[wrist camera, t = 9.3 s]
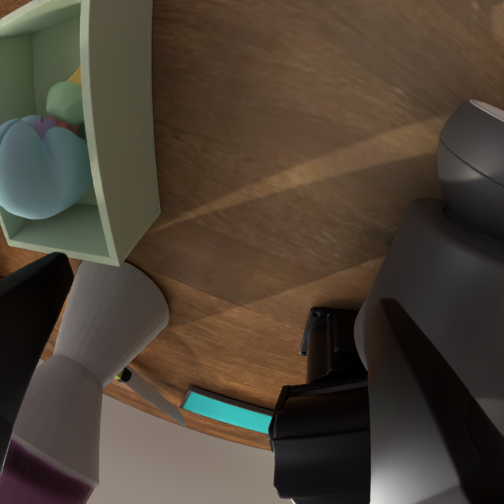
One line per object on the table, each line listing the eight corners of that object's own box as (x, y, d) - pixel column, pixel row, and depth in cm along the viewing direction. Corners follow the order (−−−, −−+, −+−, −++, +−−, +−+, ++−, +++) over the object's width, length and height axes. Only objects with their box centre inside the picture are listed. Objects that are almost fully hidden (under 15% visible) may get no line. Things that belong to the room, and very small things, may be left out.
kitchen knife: (193, 411, 42) (189, 427, 40) (187, 411, 43) (183, 428, 40) (82, 317, 33) (71, 335, 30) (78, 320, 33) (67, 337, 31)
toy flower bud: (70, 37, 8) (32, 266, 14) (159, 47, 15) (104, 201, 21) (-16, 23, 7) (-37, 215, 13) (79, 25, 14) (40, 167, 20)
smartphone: (188, 389, 36) (294, 421, 37) (190, 384, 37) (294, 416, 38) (179, 407, 40) (272, 435, 42) (180, 403, 41) (273, 431, 42)
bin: (161, 213, 22) (120, 267, 17) (54, 204, 23) (8, 245, 18) (153, -9, 13) (92, -26, 8) (32, 29, 14) (-31, 39, 9)
